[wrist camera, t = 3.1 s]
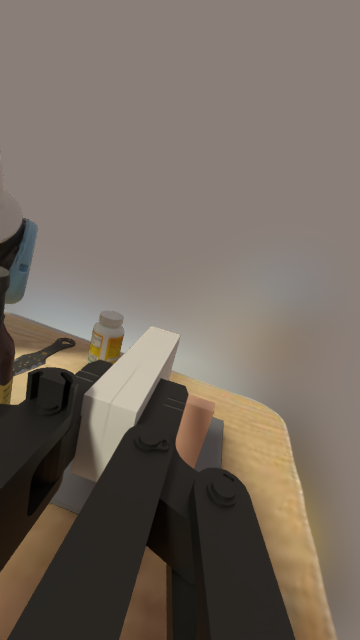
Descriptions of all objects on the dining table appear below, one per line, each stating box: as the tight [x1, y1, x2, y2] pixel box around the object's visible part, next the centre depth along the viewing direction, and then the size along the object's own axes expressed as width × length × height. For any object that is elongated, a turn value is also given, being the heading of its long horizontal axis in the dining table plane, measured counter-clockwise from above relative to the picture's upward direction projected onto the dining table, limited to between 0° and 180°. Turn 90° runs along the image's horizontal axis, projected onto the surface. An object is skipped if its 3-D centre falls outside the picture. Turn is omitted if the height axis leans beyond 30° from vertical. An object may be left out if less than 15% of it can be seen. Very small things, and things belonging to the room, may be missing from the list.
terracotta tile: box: [176, 394, 215, 469], centre depth 27 cm, size 2×10×12 cm, turn 79°
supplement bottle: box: [88, 311, 124, 364], centre depth 49 cm, size 5×5×10 cm
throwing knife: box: [13, 338, 75, 376], centre depth 46 cm, size 4×20×1 cm, turn 165°
